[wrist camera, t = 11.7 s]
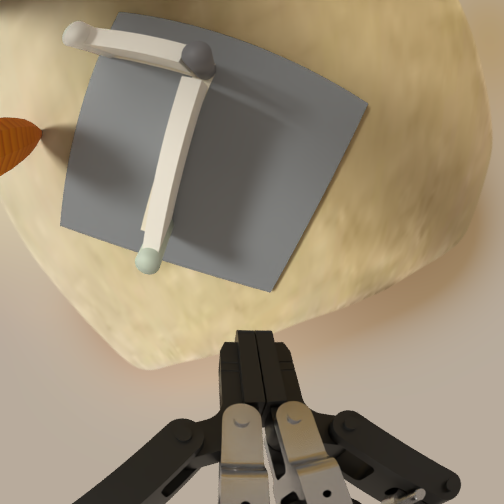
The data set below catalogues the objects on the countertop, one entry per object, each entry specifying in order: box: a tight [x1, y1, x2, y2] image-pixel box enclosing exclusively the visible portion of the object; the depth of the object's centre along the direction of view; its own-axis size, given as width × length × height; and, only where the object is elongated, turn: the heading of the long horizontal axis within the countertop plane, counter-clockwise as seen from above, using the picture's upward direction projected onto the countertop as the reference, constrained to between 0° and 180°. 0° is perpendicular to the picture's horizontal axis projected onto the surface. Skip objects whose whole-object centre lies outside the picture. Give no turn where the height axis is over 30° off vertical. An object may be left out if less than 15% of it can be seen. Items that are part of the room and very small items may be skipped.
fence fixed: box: [62, 21, 216, 80], centre depth 14 cm, size 10×2×8 cm, turn 67°
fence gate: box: [135, 76, 207, 274], centre depth 19 cm, size 13×2×7 cm, turn 162°
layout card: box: [60, 12, 368, 292], centre depth 22 cm, size 23×21×1 cm
